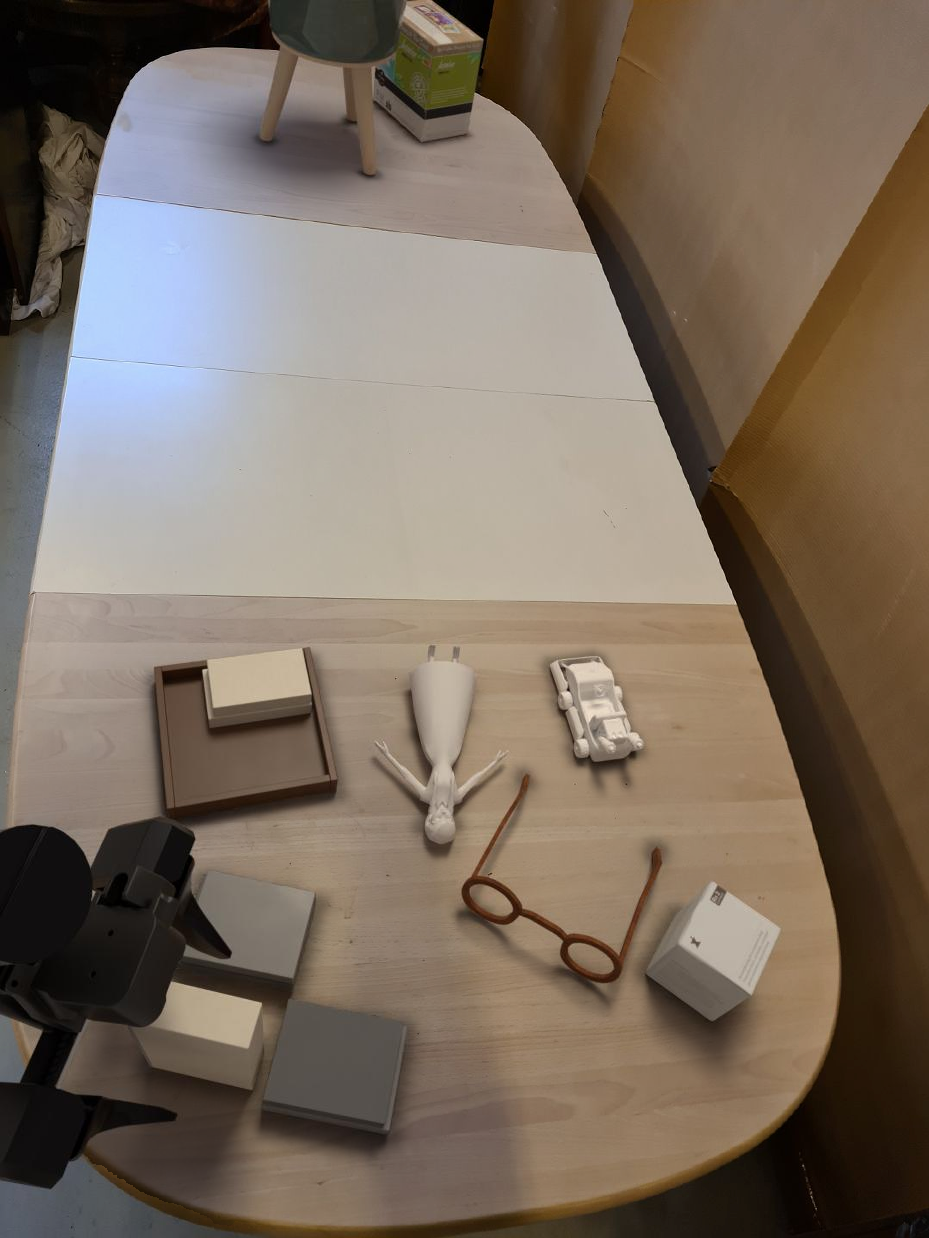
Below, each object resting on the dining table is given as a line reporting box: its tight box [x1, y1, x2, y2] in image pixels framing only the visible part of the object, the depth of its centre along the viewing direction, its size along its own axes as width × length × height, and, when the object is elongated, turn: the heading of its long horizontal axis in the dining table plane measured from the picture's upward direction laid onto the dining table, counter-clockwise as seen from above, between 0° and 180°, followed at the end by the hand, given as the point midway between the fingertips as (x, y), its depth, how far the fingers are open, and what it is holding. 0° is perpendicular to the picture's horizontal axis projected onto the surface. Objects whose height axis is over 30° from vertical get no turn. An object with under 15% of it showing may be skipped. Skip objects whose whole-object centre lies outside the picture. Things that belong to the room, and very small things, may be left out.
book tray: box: [153, 646, 339, 820], centre depth 74 cm, size 13×13×2 cm
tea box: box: [372, 0, 484, 143], centre depth 142 cm, size 15×10×15 cm
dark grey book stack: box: [261, 998, 409, 1135], centre depth 59 cm, size 8×6×3 cm
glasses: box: [460, 773, 663, 984], centre depth 70 cm, size 13×13×5 cm
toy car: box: [549, 655, 645, 763], centre depth 80 cm, size 6×12×4 cm, turn 13°
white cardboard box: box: [645, 881, 782, 1022], centre depth 66 cm, size 6×6×7 cm
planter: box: [259, 0, 408, 176], centre depth 124 cm, size 22×22×33 cm
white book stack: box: [202, 647, 312, 728], centre depth 75 cm, size 8×5×3 cm, turn 106°
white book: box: [126, 981, 265, 1091], centre depth 54 cm, size 7×2×13 cm, turn 80°
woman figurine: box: [373, 643, 509, 845], centre depth 75 cm, size 12×4×18 cm
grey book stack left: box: [176, 869, 317, 993], centre depth 64 cm, size 8×6×3 cm
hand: (201, 1032), depth 53 cm, fingers open, 9 cm apart
